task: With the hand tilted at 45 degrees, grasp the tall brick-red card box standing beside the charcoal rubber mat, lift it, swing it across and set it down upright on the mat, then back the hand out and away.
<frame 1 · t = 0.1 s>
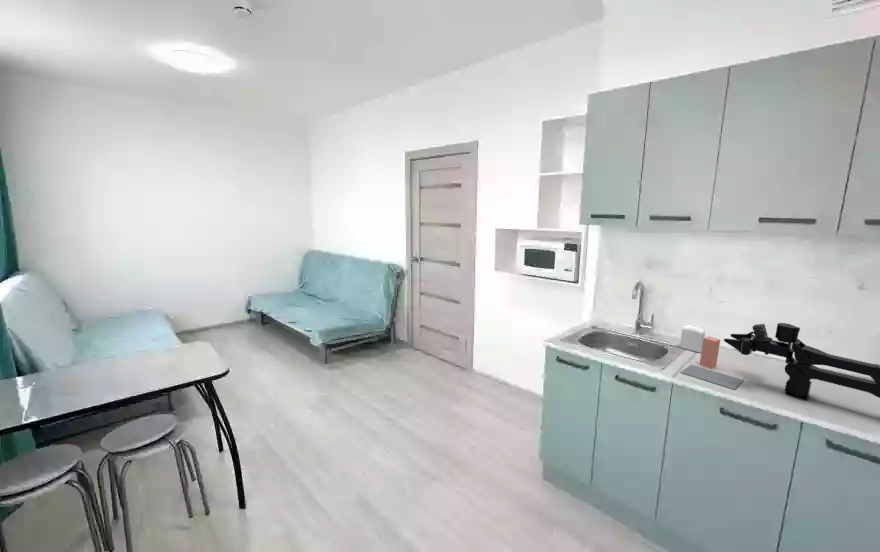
hand: (727, 337, 172), 17 cm above the counter, tool horizontal, fingers open, 9 cm apart
card box: (707, 365, 183), on the counter
mat: (711, 376, 171), on the counter
photo printer: (690, 350, 202), on the counter
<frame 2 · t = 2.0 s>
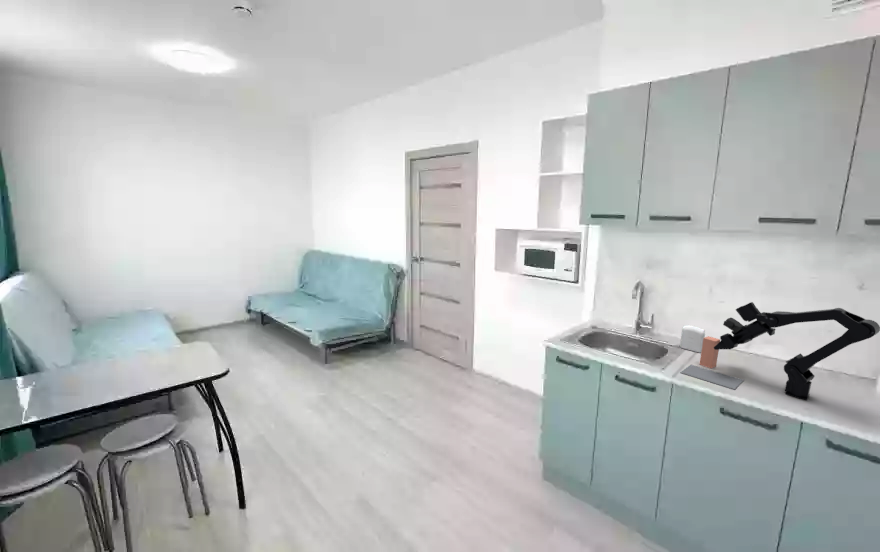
hand: (719, 346, 178), 10 cm above the counter, tool tilted 45°, fingers open, 9 cm apart
nothing on the counter moved.
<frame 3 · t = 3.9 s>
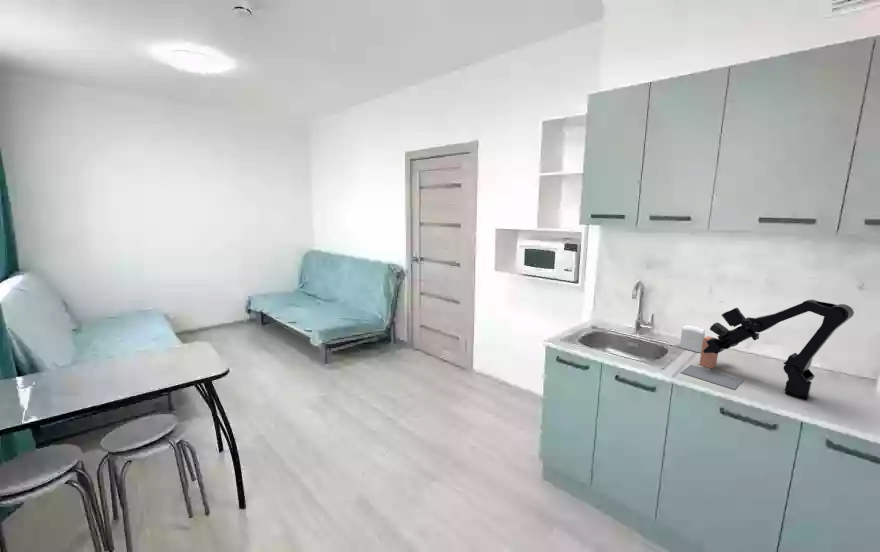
hand: (706, 350, 183), 7 cm above the counter, tool tilted 45°, fingers closed on card box, 5 cm apart
card box: (707, 365, 183), on the counter, touching gripper
everything else where it was.
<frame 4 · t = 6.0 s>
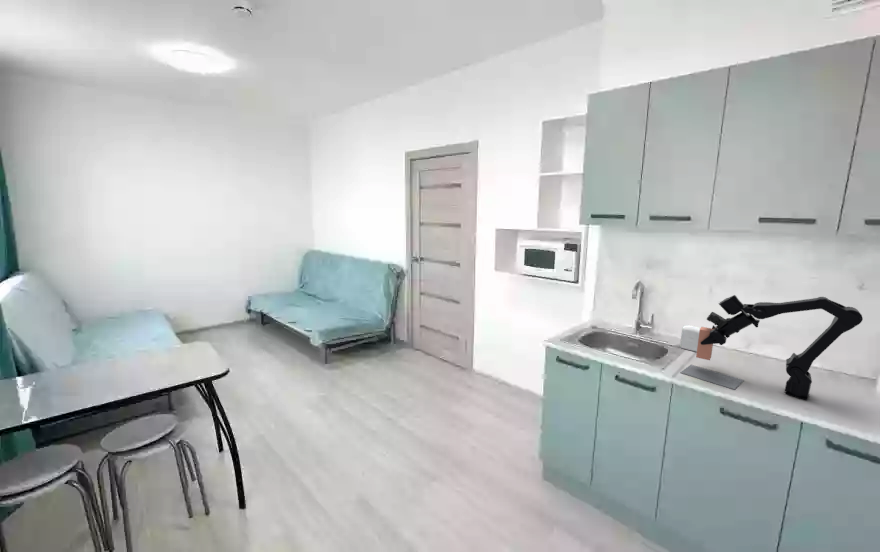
hand: (701, 342, 175), 13 cm above the counter, tool tilted 45°, fingers closed on card box, 5 cm apart
card box: (703, 357, 175), point 7 cm above the counter, touching gripper
everything else where it was.
when the fingers open (8 cm above the counter, at t = 8.1 s): card box drops 1 cm, resting on mat.
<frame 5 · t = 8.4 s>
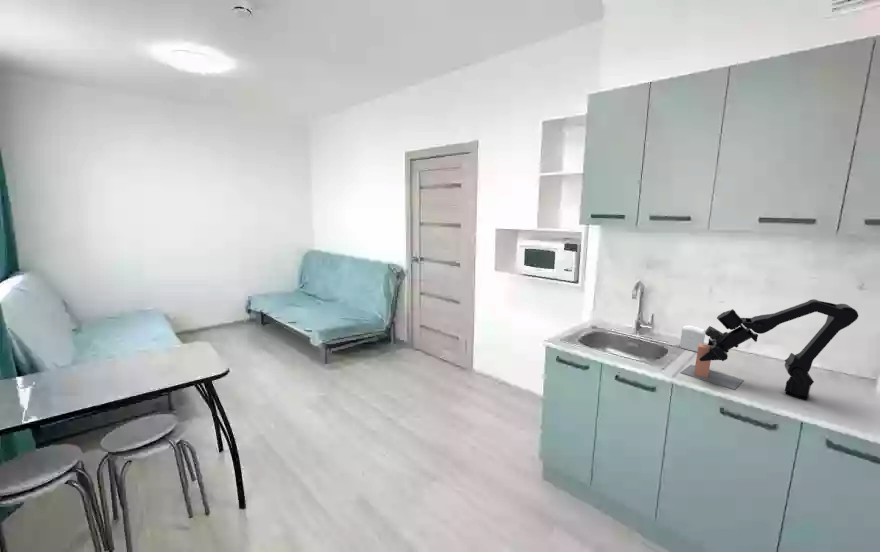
hand: (699, 357, 172), 8 cm above the counter, tool tilted 45°, fingers open, 8 cm apart
card box: (701, 374, 173), resting on mat
everything else where it was.
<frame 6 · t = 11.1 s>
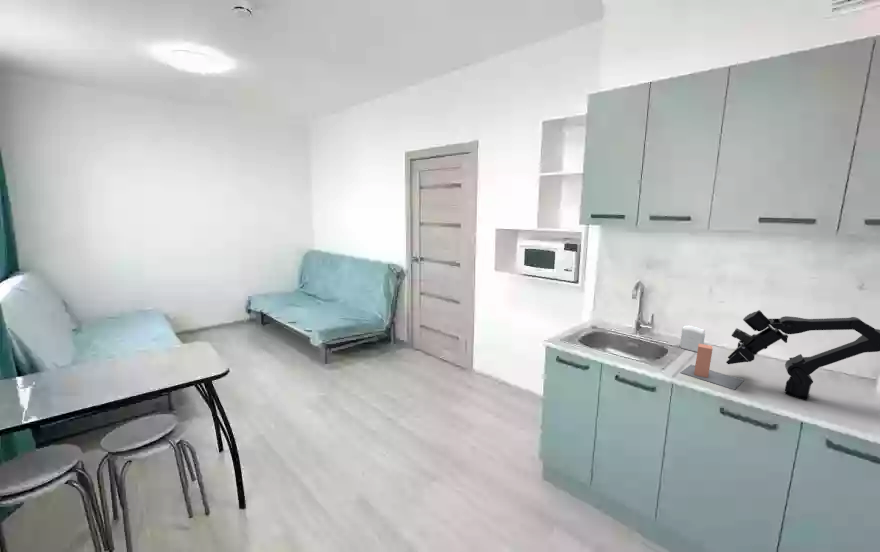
hand: (727, 360, 167), 9 cm above the counter, tool tilted 40°, fingers open, 9 cm apart
nothing on the counter moved.
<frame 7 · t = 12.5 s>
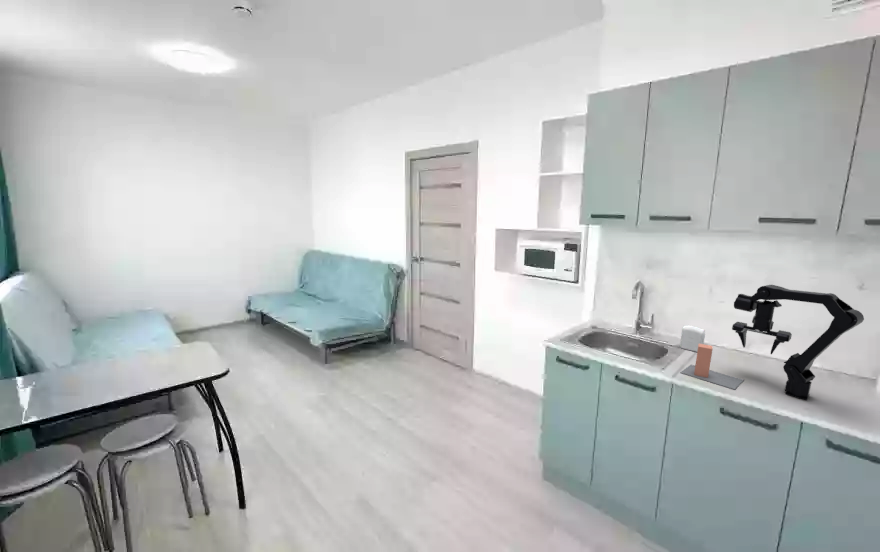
hand: (757, 350, 167), 13 cm above the counter, tool pointing down, fingers open, 9 cm apart
nothing on the counter moved.
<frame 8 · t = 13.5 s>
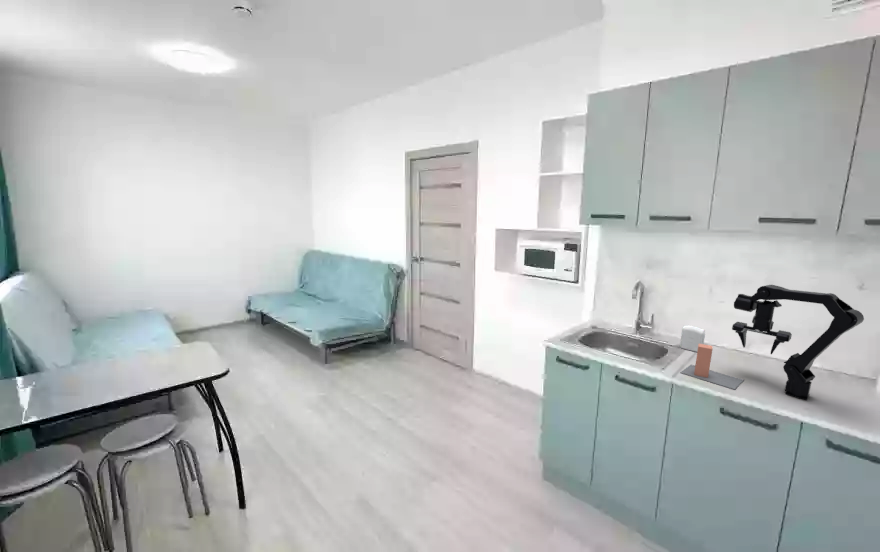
hand: (757, 350, 167), 13 cm above the counter, tool pointing down, fingers open, 9 cm apart
nothing on the counter moved.
at the end: card box inside the target area on the mat (3.9 cm from its centre), point 0.4 cm above the mat's base; card box tilted 0°; the gripper is holding nothing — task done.
